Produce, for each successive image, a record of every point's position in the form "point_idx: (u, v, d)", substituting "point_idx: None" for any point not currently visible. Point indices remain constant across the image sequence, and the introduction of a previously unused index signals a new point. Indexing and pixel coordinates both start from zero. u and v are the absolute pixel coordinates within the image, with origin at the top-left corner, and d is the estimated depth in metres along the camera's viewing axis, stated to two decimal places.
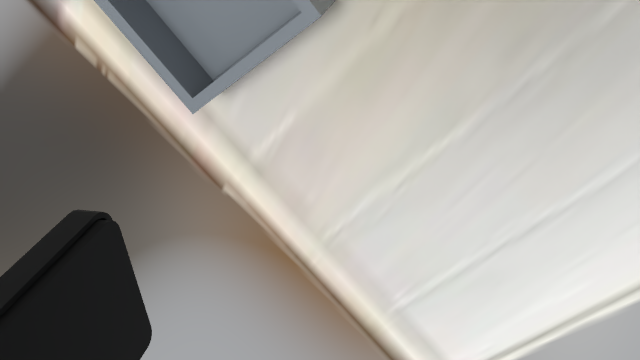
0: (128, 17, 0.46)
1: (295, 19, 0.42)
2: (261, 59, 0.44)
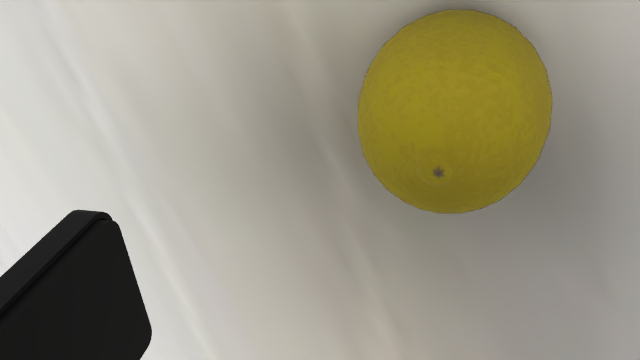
0: None
1: None
2: None
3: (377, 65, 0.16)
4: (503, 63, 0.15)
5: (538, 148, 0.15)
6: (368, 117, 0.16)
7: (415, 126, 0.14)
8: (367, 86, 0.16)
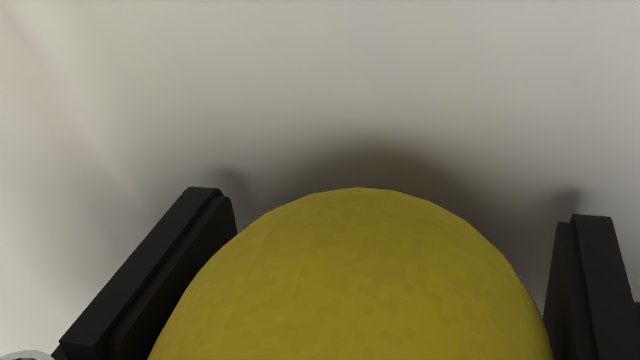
0: None
1: None
2: None
3: None
4: None
5: None
6: None
7: None
8: None
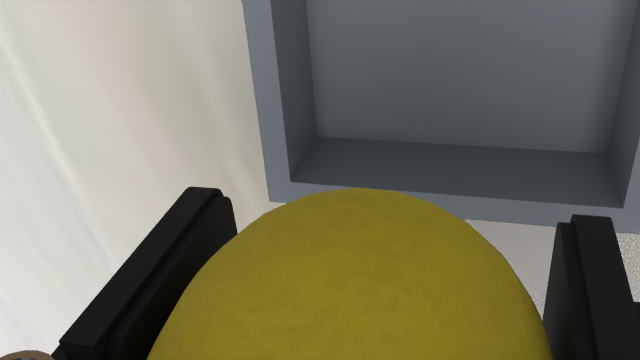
0: None
1: (286, 166, 0.23)
2: (254, 64, 0.21)
3: None
4: None
5: None
6: None
7: None
8: None
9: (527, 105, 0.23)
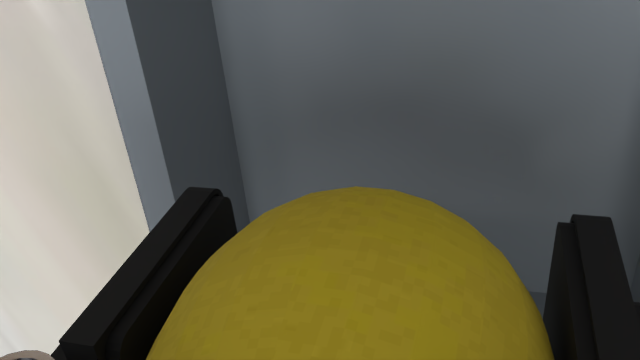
0: None
1: None
2: (147, 207, 0.15)
3: None
4: None
5: None
6: None
7: None
8: None
9: (522, 240, 0.18)
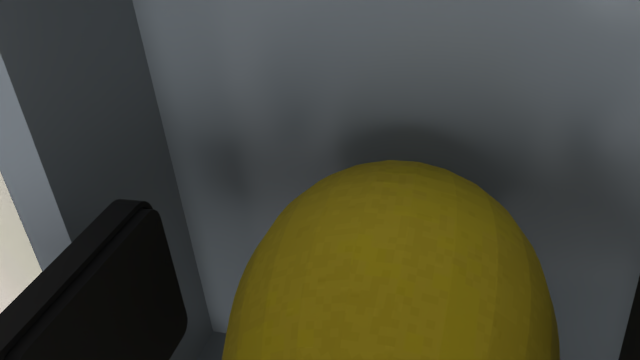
0: None
1: None
2: None
3: (240, 323, 0.09)
4: None
5: None
6: None
7: None
8: (225, 359, 0.09)
9: None
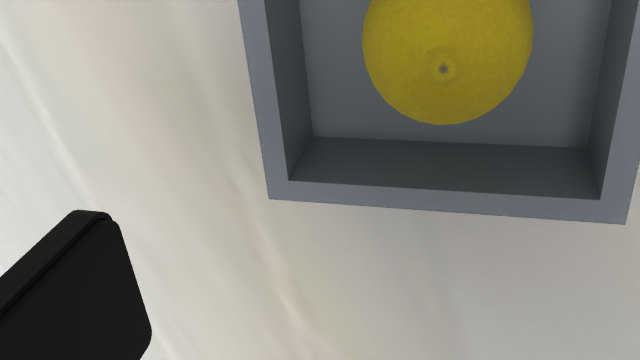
0: None
1: (284, 166, 0.24)
2: (251, 70, 0.22)
3: None
4: None
5: (525, 59, 0.18)
6: (376, 30, 0.18)
7: (422, 30, 0.16)
8: (374, 7, 0.18)
9: (511, 103, 0.25)
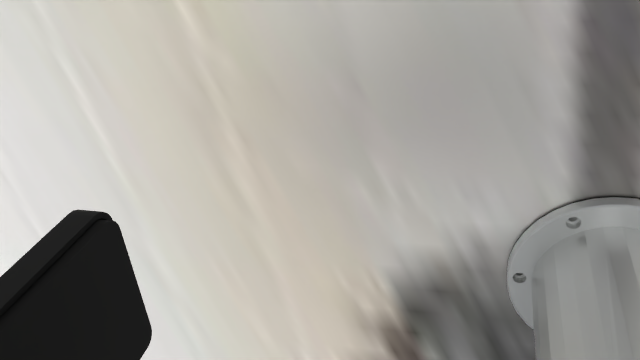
0: None
1: None
2: None
3: None
4: None
5: None
6: None
7: None
8: None
9: None
